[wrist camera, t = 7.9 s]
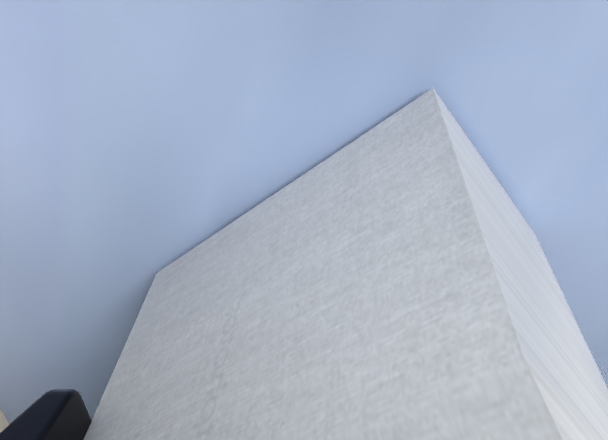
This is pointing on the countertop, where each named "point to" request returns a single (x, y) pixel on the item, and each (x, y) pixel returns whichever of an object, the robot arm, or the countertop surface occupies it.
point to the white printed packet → (363, 312)
